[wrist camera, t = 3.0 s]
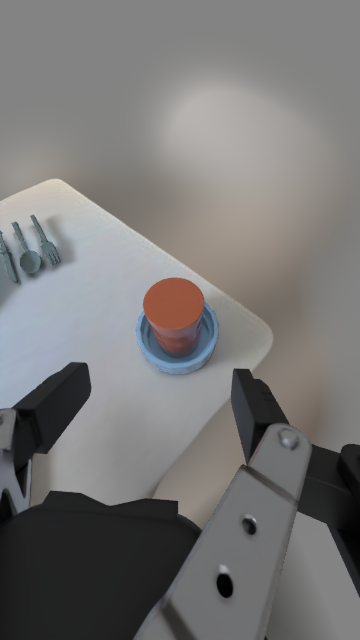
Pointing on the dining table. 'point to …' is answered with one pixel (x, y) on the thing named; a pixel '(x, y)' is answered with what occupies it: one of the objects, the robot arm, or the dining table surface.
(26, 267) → the cutlery set
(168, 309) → the terracotta cylindrical canister
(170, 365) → the bowl
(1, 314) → the dining table surface
